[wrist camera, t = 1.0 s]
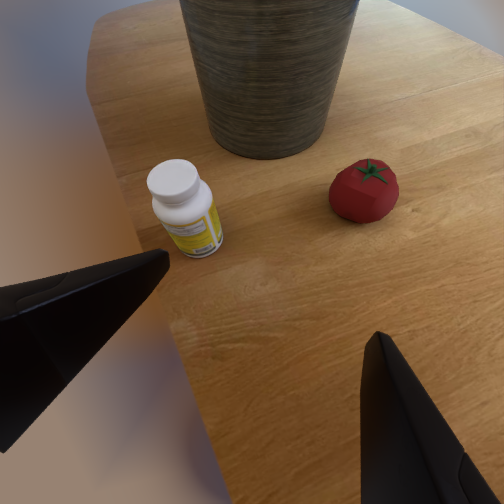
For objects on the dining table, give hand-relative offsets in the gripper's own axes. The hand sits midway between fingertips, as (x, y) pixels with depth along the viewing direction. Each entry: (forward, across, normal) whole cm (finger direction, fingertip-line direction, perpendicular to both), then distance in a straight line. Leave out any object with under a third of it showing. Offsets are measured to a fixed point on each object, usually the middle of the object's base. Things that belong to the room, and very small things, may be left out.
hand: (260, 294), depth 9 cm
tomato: (+27, -6, +5) cm, 28 cm away
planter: (+40, +13, -2) cm, 42 cm away
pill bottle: (+16, +12, +11) cm, 23 cm away
